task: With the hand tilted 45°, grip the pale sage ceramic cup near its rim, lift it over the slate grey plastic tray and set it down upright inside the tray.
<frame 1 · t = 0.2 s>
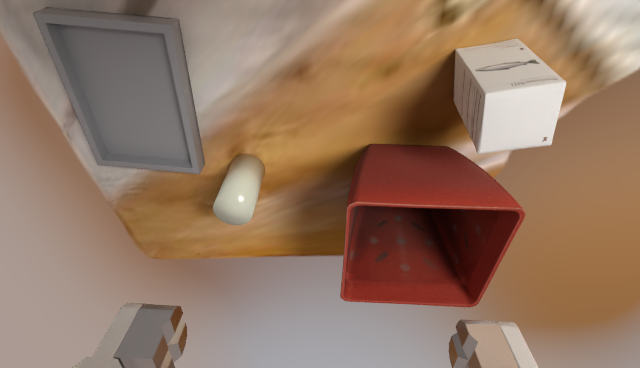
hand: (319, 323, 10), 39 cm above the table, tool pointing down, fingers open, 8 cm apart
grey tray: (137, 97, 49), on the table
sage cup: (248, 168, 56), on the table
supplement box: (482, 70, 44), on the table
plant pot: (403, 176, 56), on the table
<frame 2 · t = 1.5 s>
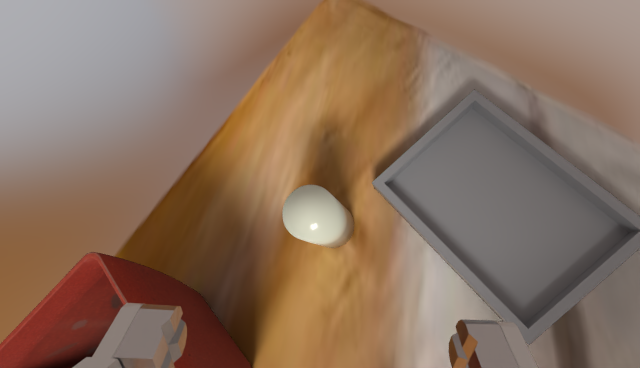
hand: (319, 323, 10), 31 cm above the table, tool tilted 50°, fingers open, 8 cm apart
grey tray: (494, 208, 39), on the table
sage cup: (332, 225, 43), on the table
plant pot: (190, 365, 44), on the table
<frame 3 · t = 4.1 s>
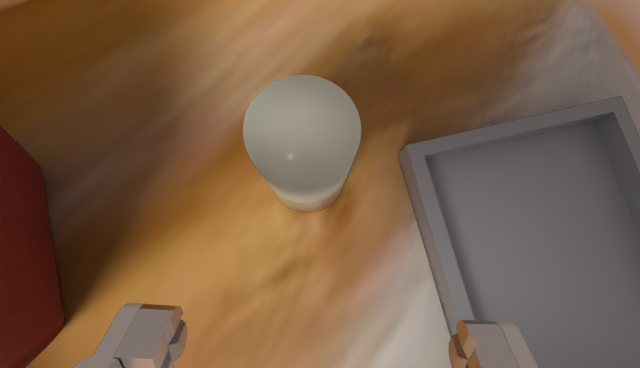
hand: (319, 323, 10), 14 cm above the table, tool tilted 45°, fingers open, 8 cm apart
grey tray: (548, 275, 25), on the table
sage cup: (307, 176, 26), on the table
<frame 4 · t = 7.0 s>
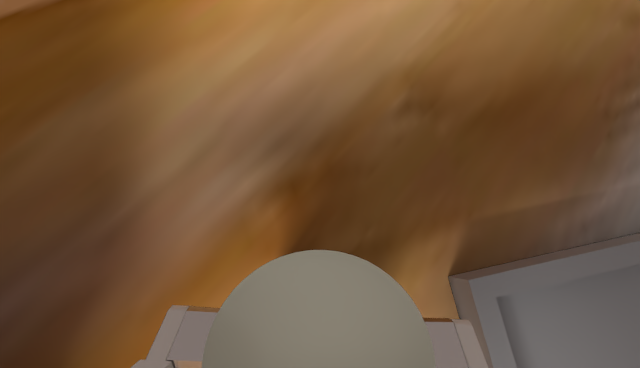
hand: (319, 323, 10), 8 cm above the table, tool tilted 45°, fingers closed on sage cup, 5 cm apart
sage cup: (317, 306, 18), on the table, touching gripper
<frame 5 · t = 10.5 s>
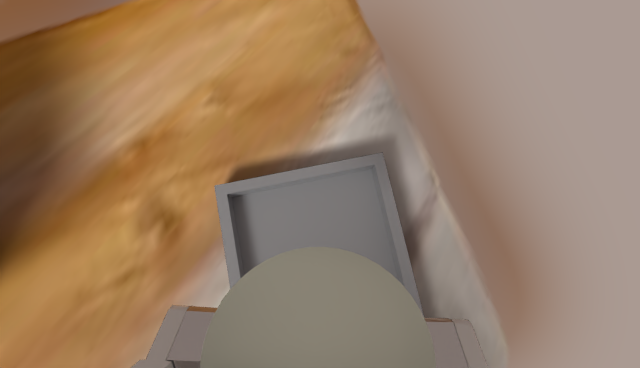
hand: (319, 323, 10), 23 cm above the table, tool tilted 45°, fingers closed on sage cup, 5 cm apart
grey tray: (323, 285, 33), on the table
sage cup: (316, 304, 18), point 15 cm above the table, touching gripper
when the fingers open (10 cm above the table, at t = 14.1 s): sage cup drops 2 cm, resting on grey tray.
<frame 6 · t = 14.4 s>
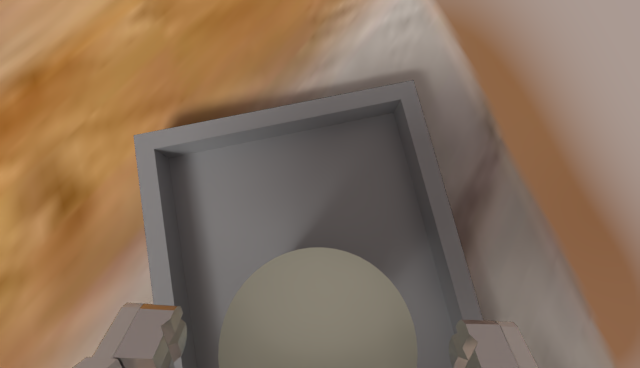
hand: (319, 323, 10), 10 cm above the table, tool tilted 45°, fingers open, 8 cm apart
grey tray: (317, 301, 20), on the table
sage cup: (316, 300, 19), point 1 cm above the table, touching grey tray
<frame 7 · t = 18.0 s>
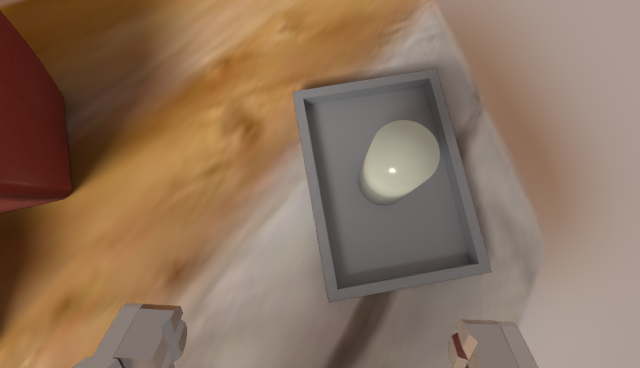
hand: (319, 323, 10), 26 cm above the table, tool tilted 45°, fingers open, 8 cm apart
grey tray: (382, 182, 38), on the table
sage cup: (383, 180, 38), point 1 cm above the table, touching grey tray
plant pot: (11, 157, 39), on the table
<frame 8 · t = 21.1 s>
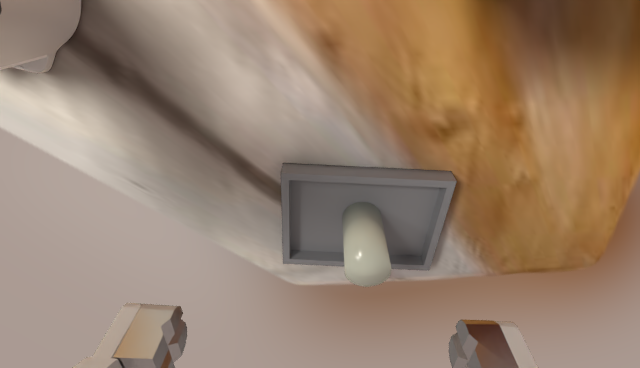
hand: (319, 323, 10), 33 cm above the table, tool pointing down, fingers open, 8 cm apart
grey tray: (360, 214, 50), on the table
sage cup: (361, 217, 50), point 1 cm above the table, touching grey tray
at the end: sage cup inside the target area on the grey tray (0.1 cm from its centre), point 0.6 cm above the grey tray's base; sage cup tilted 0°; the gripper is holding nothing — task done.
